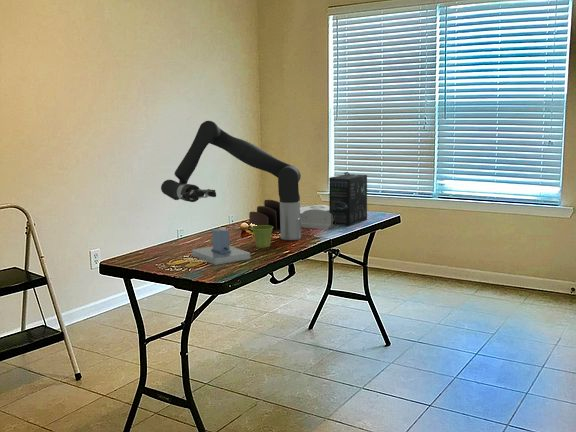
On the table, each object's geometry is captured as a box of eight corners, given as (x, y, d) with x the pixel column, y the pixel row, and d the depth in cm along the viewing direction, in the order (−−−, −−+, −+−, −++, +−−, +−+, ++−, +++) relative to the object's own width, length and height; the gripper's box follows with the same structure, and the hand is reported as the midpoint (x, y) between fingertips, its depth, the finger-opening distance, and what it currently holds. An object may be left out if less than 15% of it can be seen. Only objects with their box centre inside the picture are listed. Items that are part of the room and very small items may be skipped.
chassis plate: (191, 255, 263) (191, 249, 262) (225, 250, 272) (225, 244, 271) (215, 265, 246) (214, 258, 246) (250, 258, 255) (250, 252, 255)
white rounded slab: (271, 218, 348) (271, 209, 347) (324, 213, 362) (324, 204, 361) (286, 224, 331) (286, 214, 330) (341, 218, 345) (341, 209, 344)
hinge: (298, 227, 320) (301, 207, 321) (302, 228, 324) (304, 209, 325) (328, 229, 312) (331, 209, 313) (332, 231, 316) (335, 211, 318)
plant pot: (271, 249, 272) (271, 229, 270) (250, 248, 273) (249, 229, 272) (275, 244, 281) (275, 225, 279) (254, 244, 282) (254, 225, 281)
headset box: (347, 217, 344) (347, 169, 339) (367, 219, 338) (368, 170, 333) (328, 224, 325) (328, 174, 320) (349, 226, 319) (349, 175, 314)
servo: (211, 255, 261) (210, 226, 259) (220, 253, 264) (219, 225, 261) (223, 259, 253) (222, 230, 251) (233, 258, 256) (232, 228, 254)
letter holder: (266, 224, 328) (265, 197, 326) (285, 231, 311) (285, 202, 309) (249, 227, 323) (248, 199, 321) (267, 233, 306) (267, 204, 304)
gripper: (172, 185, 272) (189, 188, 259) (202, 182, 280) (220, 184, 267) (174, 203, 273) (191, 206, 260) (203, 199, 281) (221, 202, 268)
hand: (206, 195), depth 264 cm, fingers open, 8 cm apart
